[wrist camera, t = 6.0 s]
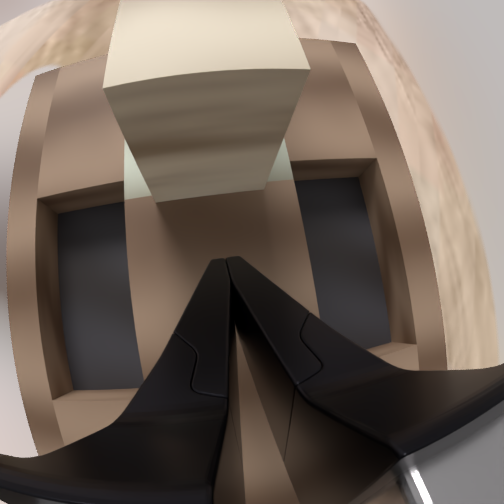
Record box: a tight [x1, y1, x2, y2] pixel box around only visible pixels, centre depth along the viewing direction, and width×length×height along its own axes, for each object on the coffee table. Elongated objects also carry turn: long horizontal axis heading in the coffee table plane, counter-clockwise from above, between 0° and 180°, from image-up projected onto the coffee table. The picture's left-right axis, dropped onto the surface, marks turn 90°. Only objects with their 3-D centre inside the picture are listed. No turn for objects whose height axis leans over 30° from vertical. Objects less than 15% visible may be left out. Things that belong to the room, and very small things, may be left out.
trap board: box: [7, 38, 447, 504], centre depth 15 cm, size 29×22×3 cm
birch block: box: [103, 0, 311, 203], centre depth 11 cm, size 10×5×8 cm, turn 9°
